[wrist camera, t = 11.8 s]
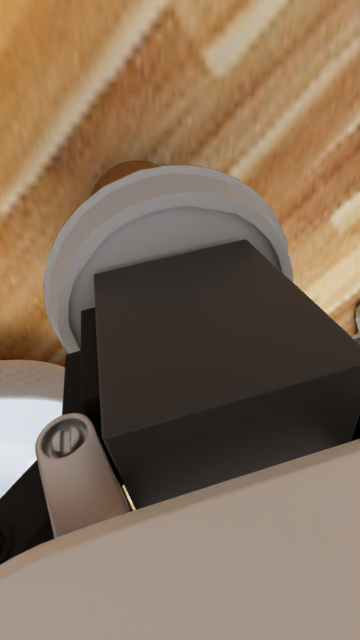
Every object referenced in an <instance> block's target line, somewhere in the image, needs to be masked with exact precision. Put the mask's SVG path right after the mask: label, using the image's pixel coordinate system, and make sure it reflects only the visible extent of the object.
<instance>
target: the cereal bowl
mask: <svg viewBox="0 0 360 640" xmlns="http://www.w3.org/2000/svg"><path fill="white" fill-rule="evenodd" d="M64 374H65V367H62V366H59V365H57V364H52V363H46V362H40V361H33V360H17V359H15V360H0V498H1V497H2V496H3V495H4V494H5V493H6V492H7V491H8V490H9V489H10V488H11V487H12V485H13V484H14V483H15V482H16V481H17V480H18V479H19V478H20V477H21V476H22V475H23V474H24V473H25V472H26V471H27V470H28V469H29V467H30V466H31V465H32V464H33V463H34V462H35V461H36V460H37V457H36V453H35V444H36V441H37V438H38V436H39V434H40V433H41V431H42V430H43V428H44V427H46V426H47V425H48V424H49V423H50V422H51V421H53V420H54V419H56V418H57V417H60V416H62V406H63V390H64Z"/></svg>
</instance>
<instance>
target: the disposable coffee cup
mask: <svg viewBox="0 0 360 640" xmlns="http://www.w3.org/2000/svg"><path fill="white" fill-rule="evenodd" d="M244 239H246V240H248V241H249V242H250V243H251V244H252V245H253V246H254V247H255V248H256V249H257V250H258V251H259V252H260V253H262V254H263V255H264V256H265V257H266V258H267V259H268V260H269V261H270V262H271V263H272V264H273V265H274V266H276V267H277V268H278V269H279V270H280V271H281V272H282V273H283V274H284V275H285V276H286V277H287V278H288V279H290V280H291V281H292V282H293V270H292V265H291V260H290V256H289V254H288V247H287V241H286V238H285V235H284V232H283V229H282V226H281V224H280V222H279V221H278V219H277V217H276V215H275V214H274V212H273V210H272V208H271V207H270V206H269V205H268V204H267V203H266V202H265V200H264V199H263V198H262V197H261V196H260V195H259V194H258V193H257V192H256V191H254V190H253V189H251V188H250V187H248V186H247V185H245V184H244V183H243V182H241V181H240V180H238V179H237V178H234V177H232V176H229V175H227V174H224V173H222V172H220V171H217V170H213V169H209V168H205V167H201V166H191V165H168V166H159V165H155V164H152V163H150V162H143V161H132V162H126V163H123V164H120V165H117V166H116V167H114V168H112V169H111V170H109V171H108V172H107V173H106V174H105V175H103V176H102V177H101V178H100V180H99V181H98V182H97V184H96V185H95V188H94V190H93V192H92V194H91V196H90V197H89V198H88V199H87V200H86V201H84V202H83V203H82V204H81V205H80V207H79V208H78V209H77V210H76V211H75V212H74V213H73V214H72V215H71V216H70V217H69V218H68V220H67V221H66V222H65V224H64V225H63V227H62V228H61V230H60V232H59V234H58V236H57V238H56V240H55V242H54V244H53V246H52V249H51V251H50V254H49V256H48V260H47V266H46V272H45V277H44V283H43V288H44V297H45V306H46V312H47V315H48V318H49V320H50V323H51V326H52V328H53V331H54V333H55V334H56V336H57V337H58V339H59V340H60V342H61V343H62V345H63V346H64V348H65V349H66V350H67V352H68V354H69V353H73V352H77V351H81V311H82V310H86V309H90V308H94V307H95V295H94V274H97V273H101V272H105V271H110V270H114V269H118V268H122V267H127V266H131V265H135V264H140V263H144V262H148V261H153V260H157V259H161V258H166V257H170V256H174V255H179V254H183V253H187V252H192V251H196V250H200V249H205V248H209V247H213V246H218V245H222V244H226V243H231V242H235V241H239V240H244Z"/></svg>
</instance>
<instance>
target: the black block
mask: <svg viewBox="0 0 360 640" xmlns="http://www.w3.org/2000/svg"><path fill="white" fill-rule="evenodd" d="M94 295H95V314H96V332H97V351H98V370H99V389H100V407H101V426H102V439H103V441H104V443H105V445H106V447H107V449H108V451H109V453H110V456H111V458H112V460H113V462H114V464H115V466H116V468H117V470H118V472H119V475H120V477H121V479H122V481H123V483H124V485H125V487H126V489H127V491H128V494H129V496H130V498H131V500H132V502H133V504H134V506H135V508H136V510H137V509H141V508H144V507H147V506H150V505H153V504H156V503H159V502H162V501H165V500H168V499H172V498H175V497H178V496H181V495H184V494H187V493H190V492H193V491H196V490H200V489H203V488H206V487H209V486H212V485H215V484H218V483H221V482H224V481H228V480H231V479H234V478H237V477H240V476H243V475H246V474H250V473H253V472H256V471H259V470H262V469H265V468H269V467H272V466H275V465H278V464H281V463H284V462H288V461H291V460H294V459H297V458H300V457H303V456H307V455H310V454H313V453H316V452H319V451H322V450H326V449H329V448H332V447H335V446H338V445H342V444H345V443H348V442H351V440H352V436H353V433H354V430H355V427H356V423H357V420H358V417H359V414H360V344H359V343H357V342H356V341H355V340H354V339H353V338H352V337H351V336H350V335H349V334H348V333H347V332H346V331H345V330H343V329H342V328H341V327H340V326H339V325H338V324H337V323H336V322H335V321H334V320H333V319H332V318H331V317H329V316H328V315H327V314H326V313H325V312H324V311H323V310H322V309H321V308H320V307H319V306H318V305H317V304H315V303H314V302H313V301H312V300H311V299H310V298H309V297H308V296H307V295H306V294H305V293H304V292H302V291H301V290H300V289H299V288H298V287H297V286H296V285H295V284H294V283H293V282H292V281H291V280H290V279H288V278H287V277H286V276H285V275H284V274H283V273H282V272H281V271H280V270H279V269H278V268H277V267H276V266H274V265H273V264H272V263H271V262H270V261H269V260H268V259H267V258H266V257H265V256H264V255H263V254H262V253H260V252H259V251H258V250H257V249H256V248H255V247H254V246H253V245H252V244H251V243H250V242H249V241H248V240H246V239H244V240H239V241H235V242H231V243H226V244H222V245H218V246H213V247H209V248H205V249H200V250H196V251H192V252H187V253H183V254H179V255H174V256H170V257H166V258H161V259H157V260H153V261H148V262H144V263H140V264H135V265H131V266H127V267H122V268H118V269H114V270H110V271H105V272H101V273H97V274H94Z"/></svg>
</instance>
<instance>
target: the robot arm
mask: <svg viewBox="0 0 360 640" xmlns="http://www.w3.org/2000/svg"><path fill="white" fill-rule="evenodd" d="M351 337H352V338H353V339H354V340H355V341H356V342H357V343H359V344H360V333H359V334H354V335H352V336H351ZM35 453H36V457H37V460H36V461H35V462H34V463H33V464H32V465H31V466H30V467H29V469H28V470H27V471H26V472H25V473H24V474H23V475H22V476H21V477H20V478H19V479H18V480H17V481H16V482H15V483H14V484H13V485H12V487H11V488H10V489H9V490H8V491H7V492H6V493H5V494H4V495H3V496H2V497H1V498H0V640H360V414H359V417H358V420H357V423H356V427H355V430H354V433H353V436H352V440H351V442H348V443H345V444H342V445H338V446H335V447H332V448H329V449H326V450H322V451H319V452H316V453H313V454H310V455H307V456H303V457H300V458H297V459H294V460H291V461H288V462H284V463H281V464H278V465H275V466H272V467H269V468H265V469H262V470H259V471H256V472H253V473H250V474H246V475H243V476H240V477H237V478H234V479H231V480H228V481H224V482H221V483H218V484H215V485H212V486H209V487H206V488H203V489H200V490H196V491H193V492H190V493H187V494H184V495H181V496H178V497H175V498H172V499H168V500H165V501H162V502H159V503H156V504H153V505H150V506H147V507H144V508H141V509H137V510H134V511H133V509H132V507H131V504H130V502H129V500H128V497H127V495H126V493H125V491H124V488H123V484H124V483H123V481H122V479H121V477H120V475H119V472H118V470H117V468H116V466H115V464H114V462H113V460H112V458H111V456H110V453H109V451H108V449H107V447H106V445H105V443H104V441H103V439H102V426H101V407H100V389H99V370H98V351H97V332H96V314H95V307H94V308H90V309H86V310H82V311H81V351H77V352H73V353H69V354H67V355H66V359H65V374H64V390H63V406H62V416H60V417H57V418H56V419H54V420H53V421H51V422H50V423H49V424H48V425H47V426H46V427H44V428H43V430H42V431H41V433H40V434H39V436H38V438H37V441H36V444H35Z"/></svg>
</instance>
